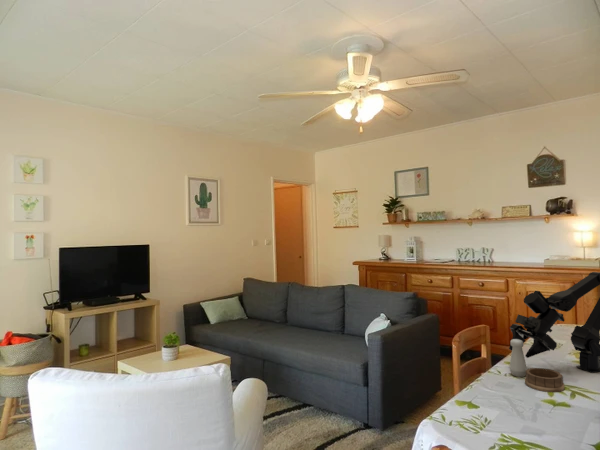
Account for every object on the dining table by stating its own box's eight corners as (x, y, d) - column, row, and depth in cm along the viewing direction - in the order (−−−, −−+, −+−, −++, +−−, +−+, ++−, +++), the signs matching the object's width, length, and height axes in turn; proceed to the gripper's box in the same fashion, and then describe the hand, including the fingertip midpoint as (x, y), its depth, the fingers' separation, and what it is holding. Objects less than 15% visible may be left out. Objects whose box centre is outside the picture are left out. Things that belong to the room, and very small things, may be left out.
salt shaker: (529, 378, 144) (528, 342, 144) (512, 377, 145) (510, 341, 145) (524, 372, 149) (522, 337, 150) (507, 372, 150) (505, 337, 151)
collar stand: (542, 377, 144) (542, 365, 144) (573, 389, 132) (572, 376, 133) (517, 381, 140) (516, 370, 140) (545, 394, 129) (545, 381, 129)
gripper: (513, 303, 158) (488, 332, 156) (547, 311, 139) (519, 345, 137) (532, 322, 158) (507, 351, 157) (569, 333, 140) (541, 366, 138)
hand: (518, 353), depth 147 cm, fingers open, 9 cm apart
